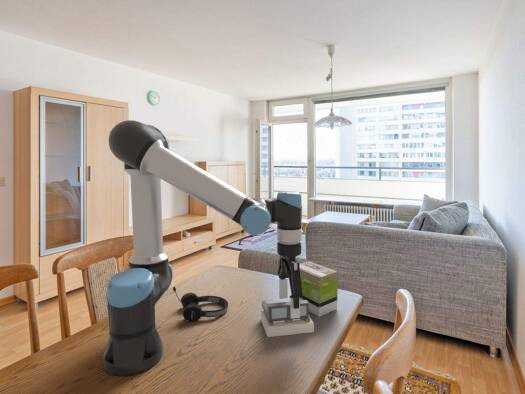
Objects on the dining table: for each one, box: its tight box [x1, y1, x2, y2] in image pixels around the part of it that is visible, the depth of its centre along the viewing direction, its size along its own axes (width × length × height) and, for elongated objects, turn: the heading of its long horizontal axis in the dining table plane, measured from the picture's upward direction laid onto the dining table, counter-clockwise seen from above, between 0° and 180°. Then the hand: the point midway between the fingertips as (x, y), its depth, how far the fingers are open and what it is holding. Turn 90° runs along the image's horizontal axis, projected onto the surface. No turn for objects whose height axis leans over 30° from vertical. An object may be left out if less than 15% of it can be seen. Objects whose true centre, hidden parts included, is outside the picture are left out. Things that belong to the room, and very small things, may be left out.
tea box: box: [290, 260, 339, 318], centre depth 114 cm, size 15×10×15 cm
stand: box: [260, 310, 315, 338], centre depth 101 cm, size 11×15×4 cm
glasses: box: [261, 300, 310, 322], centre depth 102 cm, size 11×13×5 cm
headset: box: [172, 286, 229, 322], centre depth 111 cm, size 14×10×20 cm
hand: (288, 307), depth 97 cm, fingers open, 13 cm apart
